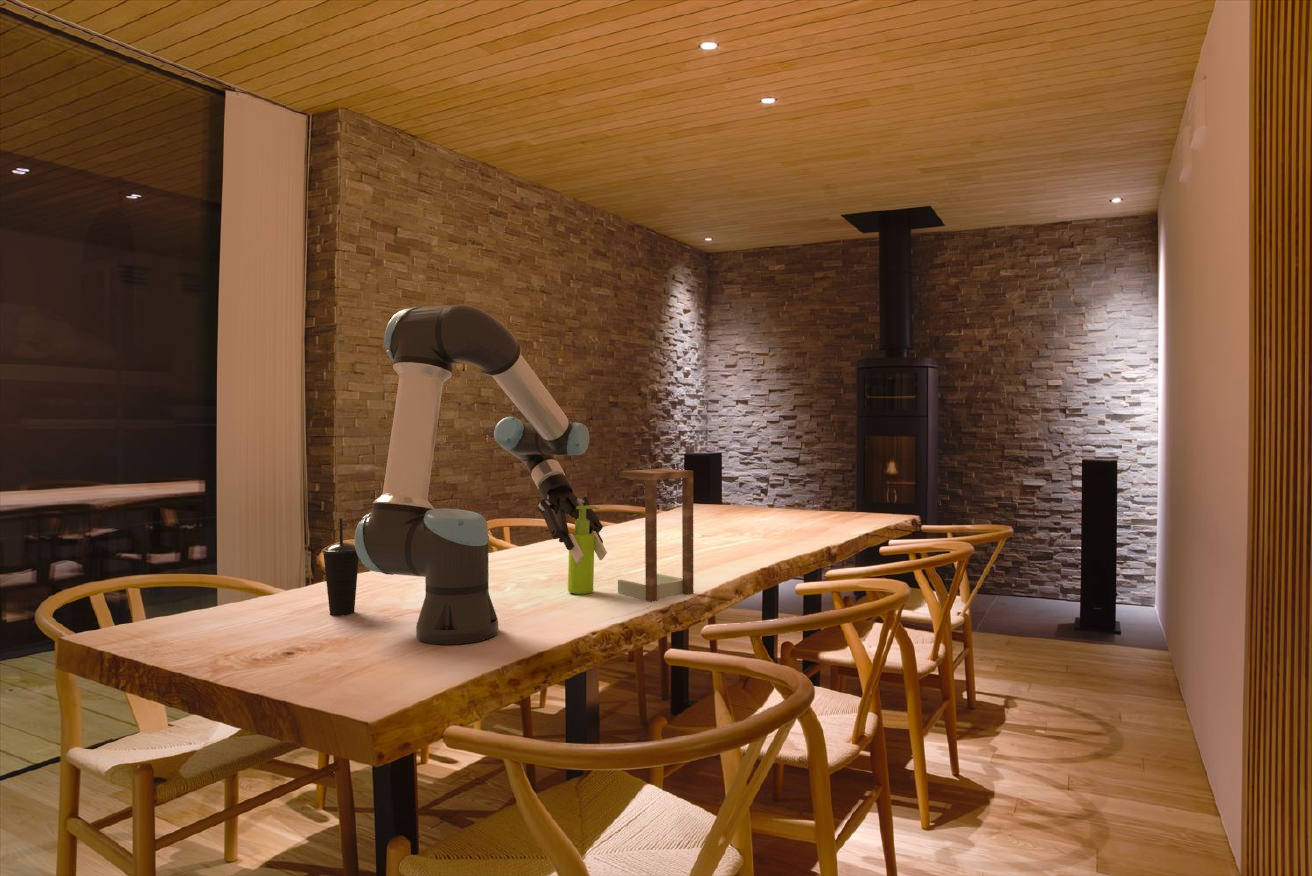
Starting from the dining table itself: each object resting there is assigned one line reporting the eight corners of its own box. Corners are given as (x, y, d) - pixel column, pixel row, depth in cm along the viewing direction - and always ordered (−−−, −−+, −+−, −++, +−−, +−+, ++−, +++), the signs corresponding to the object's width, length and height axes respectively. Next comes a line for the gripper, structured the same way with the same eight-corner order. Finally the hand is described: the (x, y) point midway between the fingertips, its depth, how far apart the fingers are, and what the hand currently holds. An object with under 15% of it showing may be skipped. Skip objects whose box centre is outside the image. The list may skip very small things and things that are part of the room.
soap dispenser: (596, 594, 194) (598, 507, 194) (566, 593, 194) (568, 506, 194) (598, 589, 200) (600, 505, 200) (569, 588, 200) (571, 504, 200)
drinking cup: (348, 618, 173) (347, 521, 172) (315, 616, 175) (313, 520, 174) (368, 609, 181) (367, 516, 180) (336, 608, 182) (334, 515, 182)
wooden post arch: (650, 601, 187) (650, 473, 187) (620, 594, 195) (620, 471, 195) (693, 593, 196) (693, 470, 195) (662, 586, 204) (662, 468, 203)
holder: (646, 600, 189) (646, 586, 189) (617, 593, 197) (617, 580, 197) (687, 592, 197) (687, 579, 197) (658, 585, 205) (658, 573, 205)
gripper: (577, 490, 214) (617, 563, 202) (512, 495, 202) (551, 572, 190) (589, 470, 210) (631, 543, 198) (524, 474, 198) (564, 552, 186)
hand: (591, 557), depth 194 cm, fingers closed on soap dispenser, 6 cm apart
